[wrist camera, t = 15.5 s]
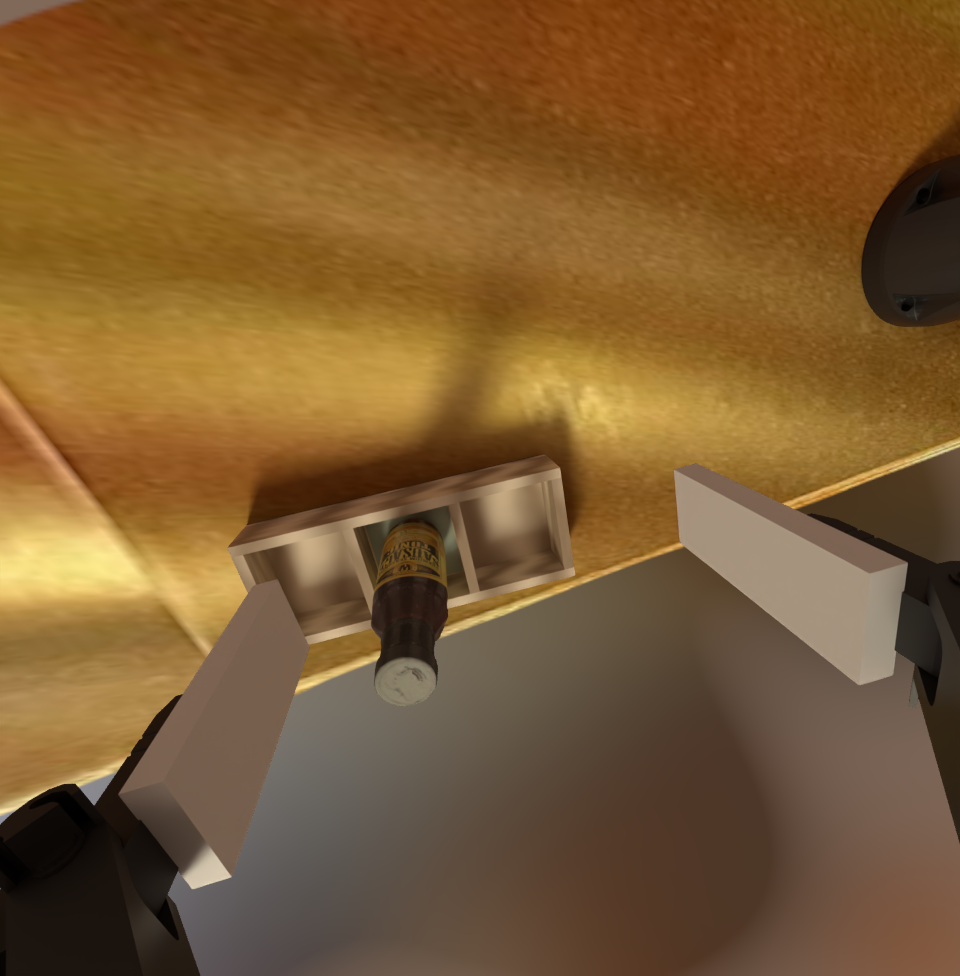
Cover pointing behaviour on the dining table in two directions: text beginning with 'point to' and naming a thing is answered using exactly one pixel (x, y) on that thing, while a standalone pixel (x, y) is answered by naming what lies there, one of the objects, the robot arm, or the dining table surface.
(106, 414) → the dining table surface
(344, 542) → the condiment rack
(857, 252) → the dining table surface
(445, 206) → the dining table surface
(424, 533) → the sauce bottle
